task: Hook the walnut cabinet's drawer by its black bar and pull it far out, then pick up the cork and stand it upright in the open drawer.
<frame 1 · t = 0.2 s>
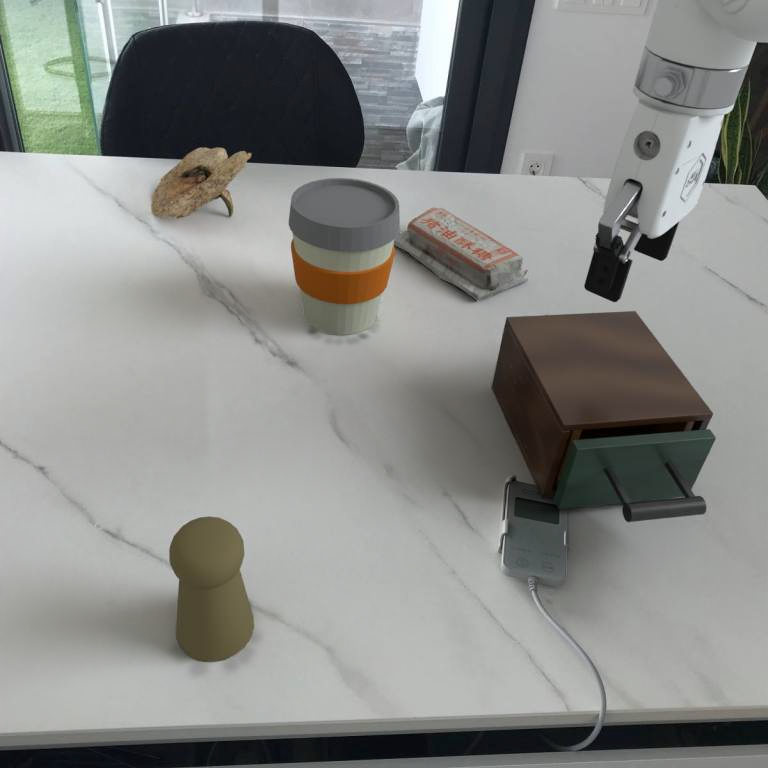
hand: (626, 273, 69), 19 cm above the table, tool pointing down, fingers open, 9 cm apart
cabinet: (580, 433, 81), on the table
packaged product: (457, 263, 107), on the table
dried bracket fungus: (197, 207, 114), on the table
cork: (215, 628, 61), on the table
drawer: (614, 437, 74), point 5 cm above the table, slide at 1.0 cm
reusable coffee cup: (340, 315, 95), on the table
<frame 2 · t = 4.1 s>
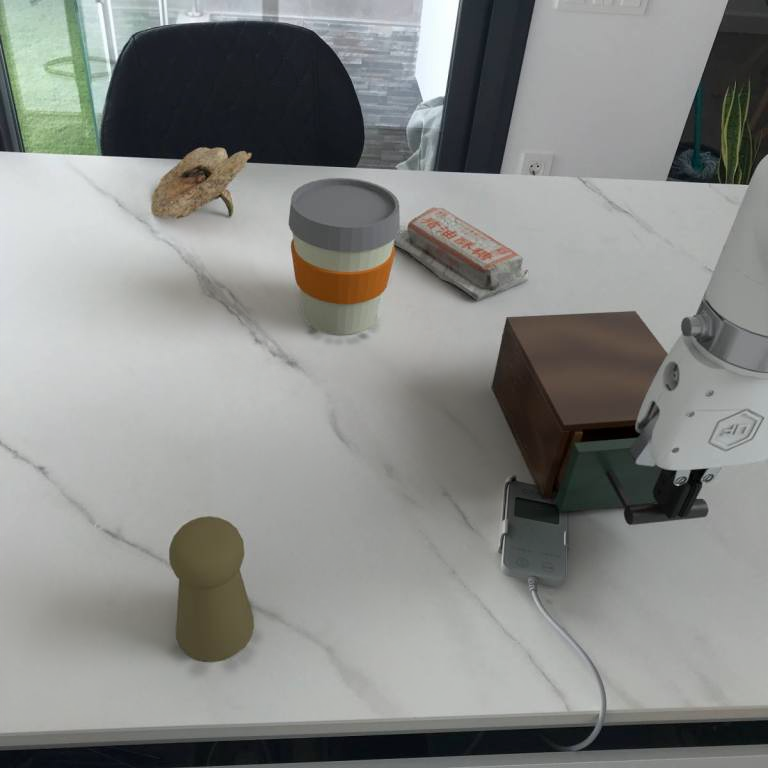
hand: (668, 504, 65), 7 cm above the table, tool pointing down, fingers closed
drawer: (615, 440, 74), point 5 cm above the table, slide at 1.3 cm, touching gripper
everything else where it was.
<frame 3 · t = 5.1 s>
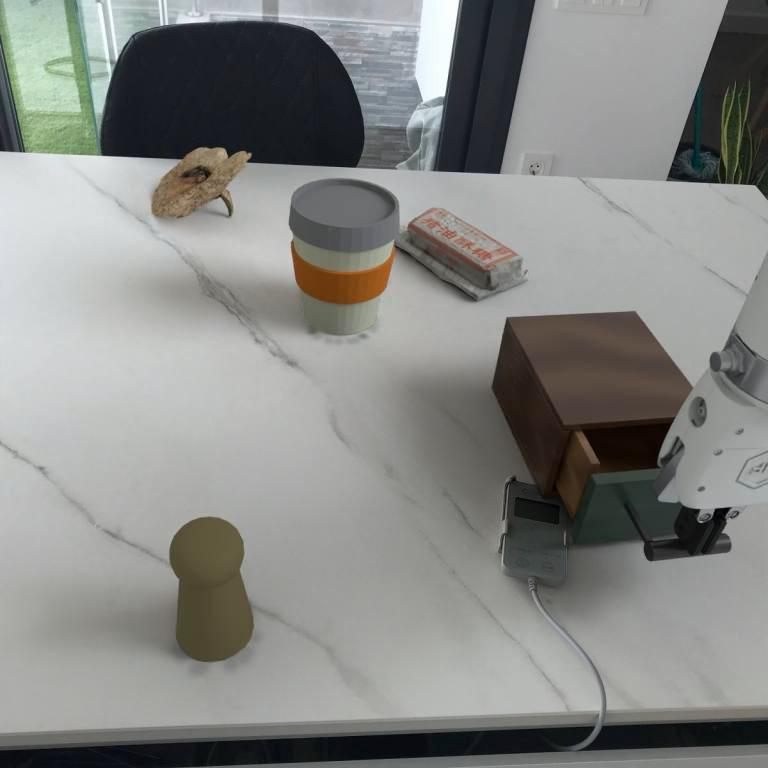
hand: (690, 540, 63), 7 cm above the table, tool pointing down, fingers closed
drawer: (632, 468, 71), point 5 cm above the table, slide at 5.1 cm, touching gripper
everything else where it was.
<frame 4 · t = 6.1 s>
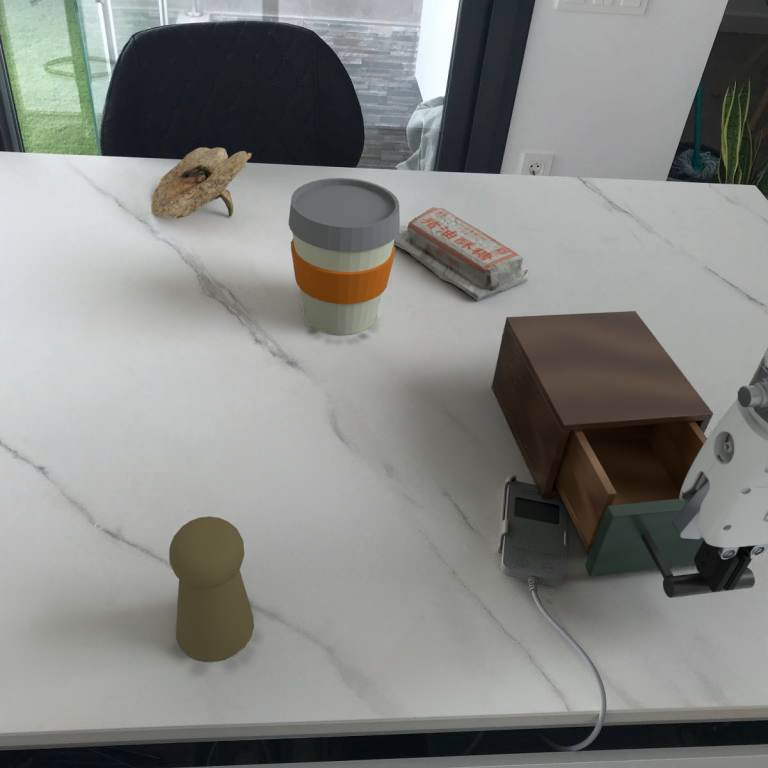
hand: (712, 575, 60), 7 cm above the table, tool pointing down, fingers closed
drawer: (649, 496, 68), point 5 cm above the table, slide at 8.6 cm, touching gripper
everything else where it was.
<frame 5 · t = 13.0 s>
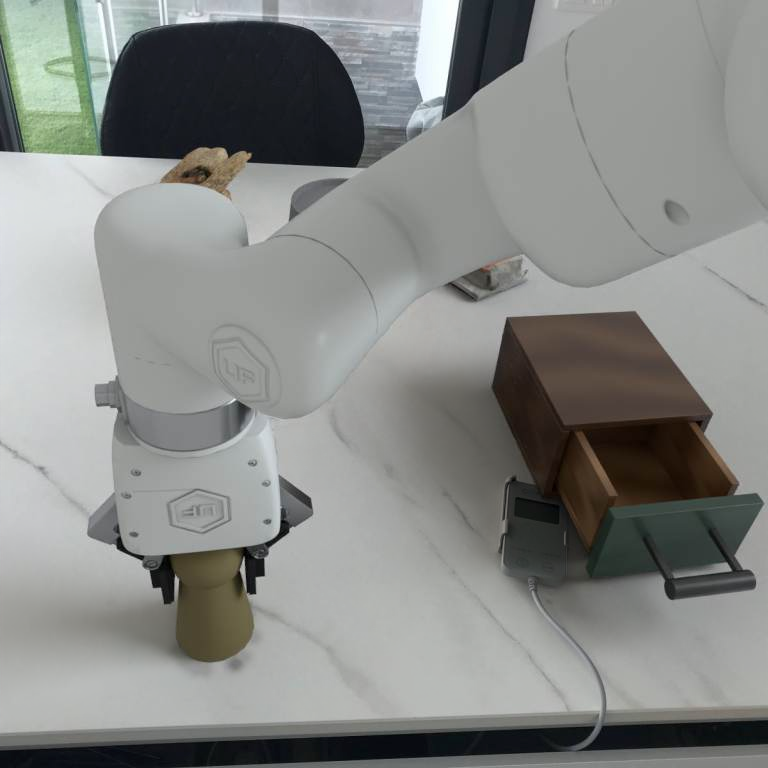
hand: (210, 581, 57), 6 cm above the table, tool pointing down, fingers closed on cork, 5 cm apart
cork: (215, 628, 61), on the table, touching gripper
drawer: (650, 498, 68), point 5 cm above the table, slide at 8.8 cm
everything else where it was.
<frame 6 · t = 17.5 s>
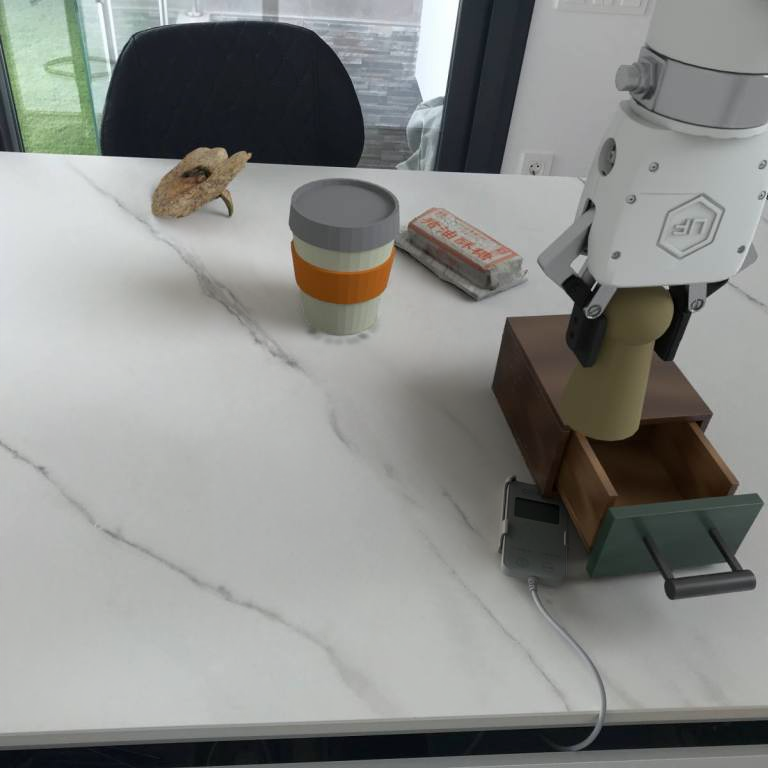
hand: (619, 350, 54), 23 cm above the table, tool pointing down, fingers closed on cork, 5 cm apart
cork: (597, 415, 58), point 17 cm above the table, touching gripper
everything else where it was.
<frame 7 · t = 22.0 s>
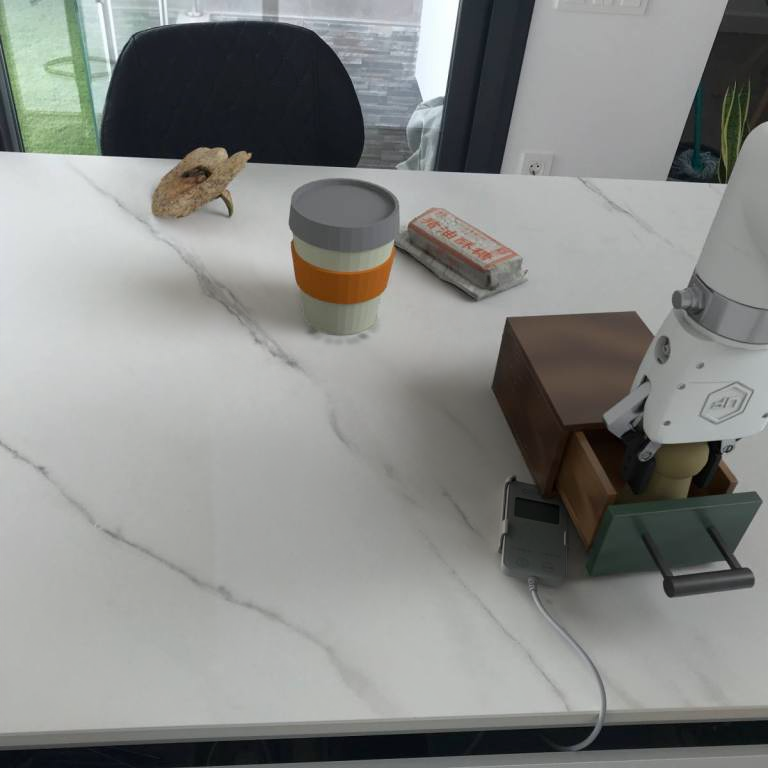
hand: (663, 478, 66), 8 cm above the table, tool pointing down, fingers closed on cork, 5 cm apart
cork: (642, 523, 70), point 2 cm above the table, touching drawer, gripper
drawer: (649, 496, 68), point 5 cm above the table, slide at 8.6 cm, touching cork
everything else where it was.
when the fingers open (8 cm above the table, at t = 22.2 s): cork stays where it is, resting on drawer.
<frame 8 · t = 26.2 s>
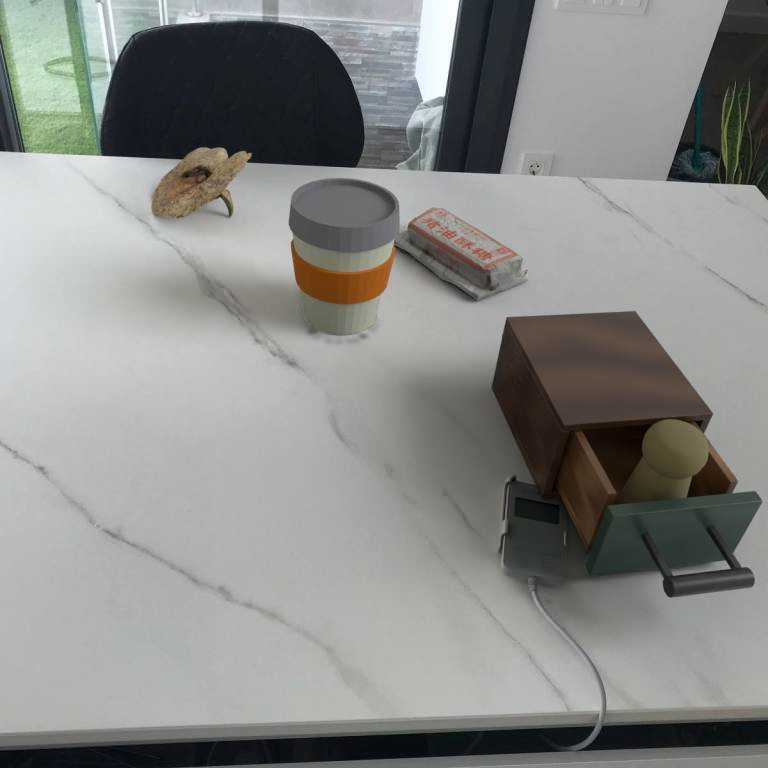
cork: (642, 523, 70), point 2 cm above the table, touching drawer
everything else where it was.
at the end: drawer slide at 8.6 cm; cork inside the target area in the drawer (0.3 cm from its centre), point 1.8 cm above the cabinet's base; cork tilted 0° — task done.
